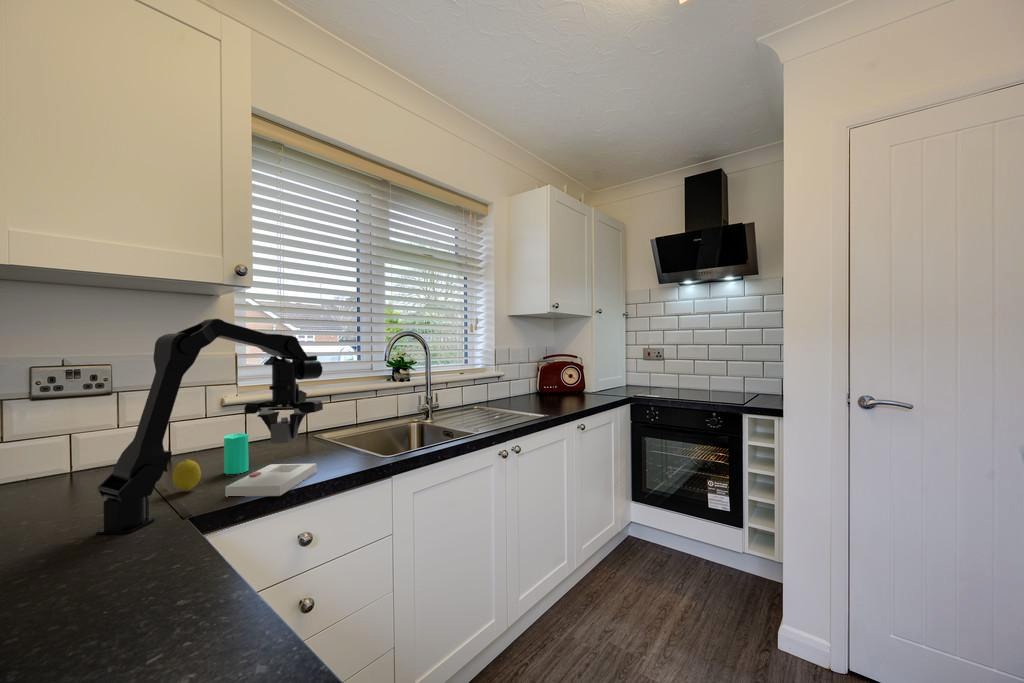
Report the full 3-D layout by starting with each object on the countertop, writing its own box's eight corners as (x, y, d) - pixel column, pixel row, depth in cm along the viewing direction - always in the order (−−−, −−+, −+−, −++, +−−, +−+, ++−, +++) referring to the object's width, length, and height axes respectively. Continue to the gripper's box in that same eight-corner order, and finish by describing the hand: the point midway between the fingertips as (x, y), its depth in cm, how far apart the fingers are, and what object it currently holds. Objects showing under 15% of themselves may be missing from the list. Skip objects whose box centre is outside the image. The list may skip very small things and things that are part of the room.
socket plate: (280, 495, 100) (280, 483, 100) (225, 496, 100) (225, 484, 100) (316, 472, 119) (316, 461, 119) (270, 472, 119) (270, 462, 119)
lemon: (176, 497, 101) (176, 463, 101) (169, 492, 104) (169, 460, 104) (204, 490, 105) (203, 458, 105) (196, 486, 108) (196, 455, 108)
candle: (228, 470, 122) (227, 429, 123) (251, 468, 124) (251, 427, 124) (220, 476, 117) (220, 433, 117) (245, 473, 118) (244, 431, 119)
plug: (287, 442, 112) (287, 419, 112) (270, 443, 112) (270, 419, 112) (298, 438, 117) (297, 416, 118) (281, 438, 117) (281, 416, 117)
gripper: (330, 378, 123) (331, 431, 123) (266, 379, 123) (267, 433, 123) (313, 381, 112) (313, 440, 112) (242, 382, 112) (243, 441, 111)
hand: (284, 438), depth 115 cm, fingers closed on plug, 4 cm apart
